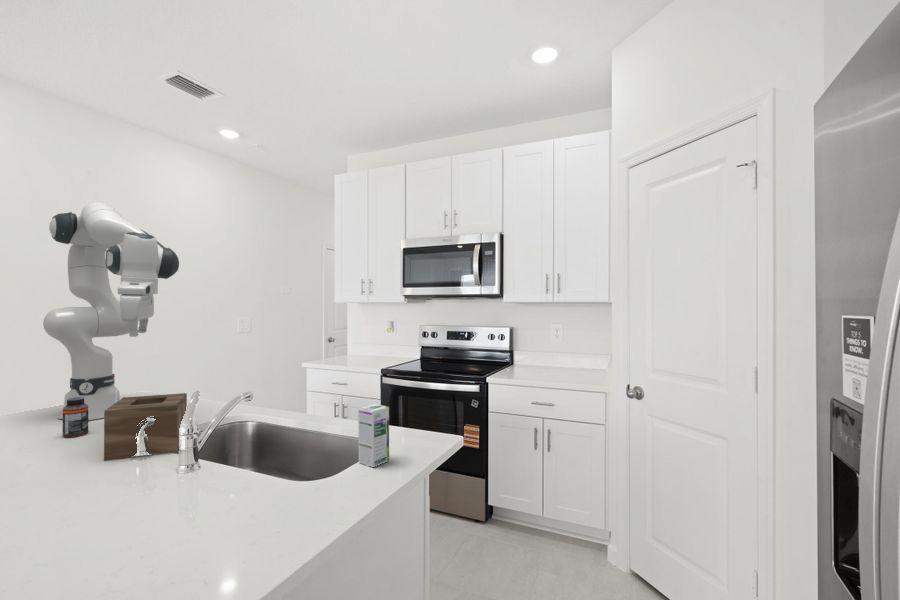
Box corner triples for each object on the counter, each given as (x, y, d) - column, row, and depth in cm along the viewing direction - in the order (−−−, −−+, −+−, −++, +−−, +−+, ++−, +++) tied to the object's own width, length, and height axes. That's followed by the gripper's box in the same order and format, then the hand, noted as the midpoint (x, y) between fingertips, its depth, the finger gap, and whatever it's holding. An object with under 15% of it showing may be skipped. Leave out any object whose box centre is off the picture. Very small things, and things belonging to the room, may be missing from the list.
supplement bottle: (67, 433, 130) (67, 397, 130) (91, 431, 133) (91, 395, 133) (58, 439, 125) (59, 401, 125) (84, 436, 127) (84, 399, 127)
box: (122, 441, 123) (123, 397, 123) (186, 434, 130) (186, 393, 130) (103, 460, 109) (104, 410, 109) (176, 452, 115) (177, 404, 115)
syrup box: (373, 468, 105) (373, 410, 105) (357, 463, 109) (358, 407, 109) (389, 461, 110) (390, 406, 110) (374, 456, 113) (374, 402, 113)
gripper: (136, 286, 132) (135, 330, 132) (115, 287, 113) (114, 338, 113) (160, 287, 134) (159, 330, 135) (143, 288, 116) (142, 338, 116)
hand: (138, 334), depth 124 cm, fingers open, 8 cm apart
